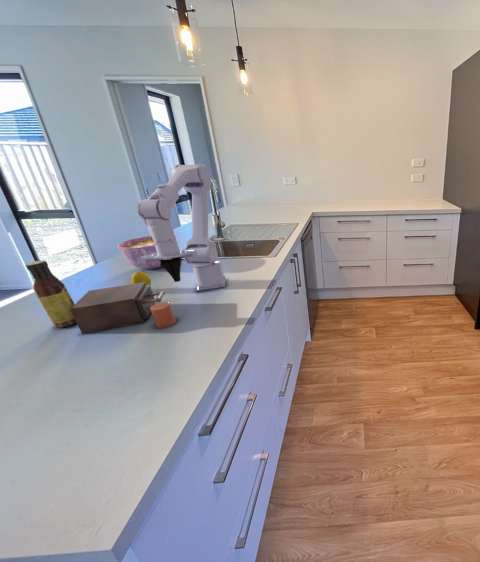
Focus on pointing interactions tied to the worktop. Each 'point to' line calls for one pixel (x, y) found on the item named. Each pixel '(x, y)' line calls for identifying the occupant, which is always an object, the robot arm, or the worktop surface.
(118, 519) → the worktop surface
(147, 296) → the drawer
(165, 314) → the orange block
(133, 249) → the bowl of food
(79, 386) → the worktop surface
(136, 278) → the lemon
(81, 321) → the cabinet
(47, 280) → the sauce bottle
